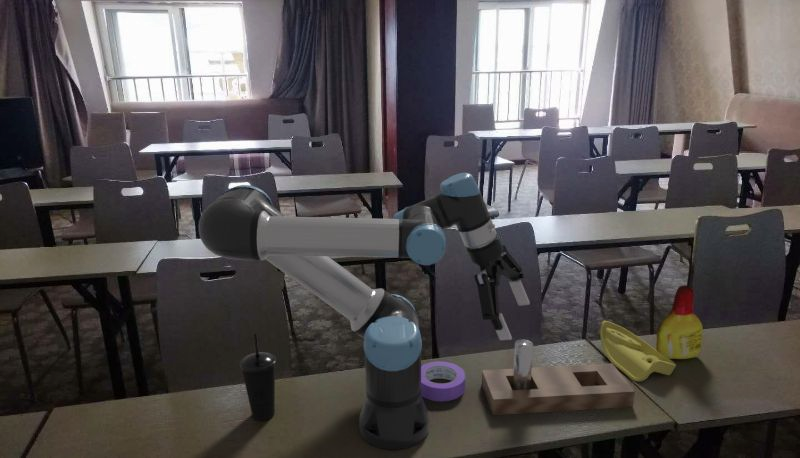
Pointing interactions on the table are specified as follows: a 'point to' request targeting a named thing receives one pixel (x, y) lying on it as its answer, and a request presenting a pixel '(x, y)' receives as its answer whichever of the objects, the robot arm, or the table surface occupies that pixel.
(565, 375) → the brown block with holes
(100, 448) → the table surface
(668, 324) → the bottle
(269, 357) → the drinking cup
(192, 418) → the table surface
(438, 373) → the masking tape
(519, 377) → the steel pin
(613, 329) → the plastic component
